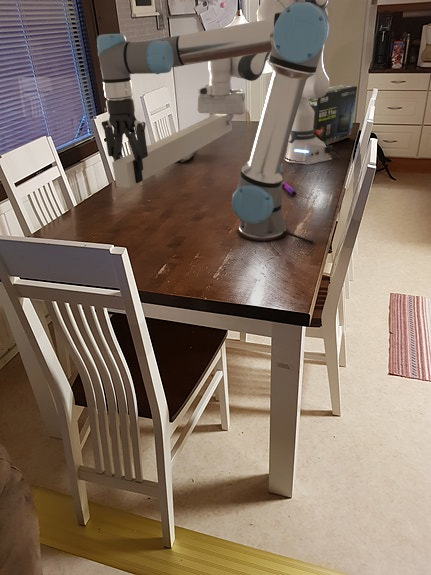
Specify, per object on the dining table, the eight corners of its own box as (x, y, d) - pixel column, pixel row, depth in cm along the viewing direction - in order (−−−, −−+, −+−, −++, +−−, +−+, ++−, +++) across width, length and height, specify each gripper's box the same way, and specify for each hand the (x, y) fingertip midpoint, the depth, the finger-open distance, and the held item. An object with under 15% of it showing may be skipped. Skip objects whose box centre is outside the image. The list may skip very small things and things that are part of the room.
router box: (314, 151, 231) (318, 94, 217) (296, 148, 237) (299, 92, 224) (352, 138, 251) (358, 85, 238) (335, 135, 258) (340, 83, 245)
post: (129, 188, 134) (126, 163, 130) (116, 186, 135) (112, 162, 132) (231, 130, 194) (231, 112, 190) (221, 129, 196) (220, 111, 192)
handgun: (263, 182, 193) (263, 177, 192) (280, 180, 194) (280, 175, 193) (277, 198, 176) (277, 193, 175) (297, 195, 177) (297, 191, 176)
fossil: (184, 156, 217) (163, 136, 220) (174, 174, 223) (154, 154, 227) (205, 153, 231) (186, 134, 234) (195, 171, 237) (176, 152, 240)
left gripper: (154, 96, 125) (163, 179, 137) (101, 95, 132) (114, 174, 144) (139, 101, 120) (150, 187, 131) (84, 99, 126) (99, 181, 138)
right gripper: (247, 88, 181) (248, 124, 188) (201, 87, 188) (203, 122, 196) (241, 90, 176) (242, 127, 183) (194, 89, 184) (196, 125, 191)
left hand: (131, 180), depth 138 cm, fingers closed on post, 5 cm apart
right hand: (221, 125), depth 190 cm, fingers closed on post, 5 cm apart
